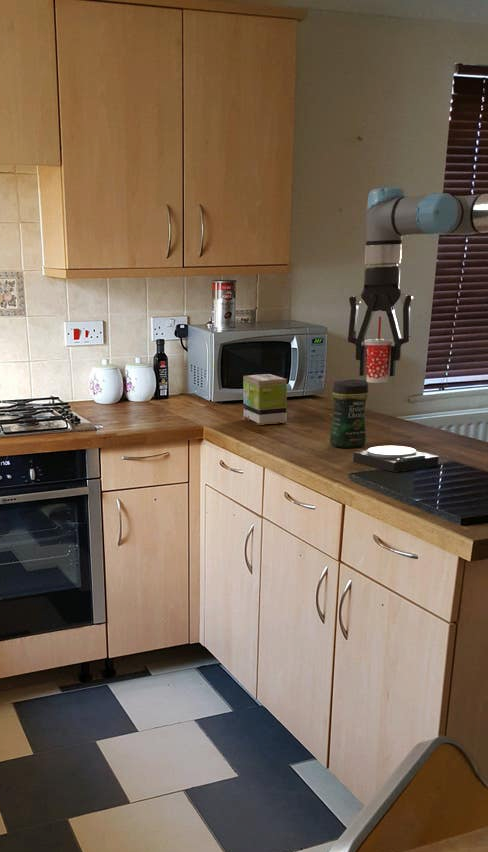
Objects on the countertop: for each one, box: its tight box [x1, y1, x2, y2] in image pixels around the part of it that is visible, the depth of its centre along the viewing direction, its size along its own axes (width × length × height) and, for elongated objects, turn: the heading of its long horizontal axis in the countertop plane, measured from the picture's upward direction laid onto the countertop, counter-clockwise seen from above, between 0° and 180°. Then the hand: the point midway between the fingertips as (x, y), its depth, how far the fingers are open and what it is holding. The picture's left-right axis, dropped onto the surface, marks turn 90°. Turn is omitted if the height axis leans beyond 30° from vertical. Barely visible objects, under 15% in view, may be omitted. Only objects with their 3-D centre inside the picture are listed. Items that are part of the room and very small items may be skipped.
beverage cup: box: [364, 316, 394, 384], centre depth 195 cm, size 6×6×14 cm
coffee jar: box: [329, 378, 369, 449], centre depth 244 cm, size 10×8×19 cm
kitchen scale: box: [352, 445, 440, 473], centre depth 223 cm, size 16×14×3 cm
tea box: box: [242, 373, 288, 423], centre depth 288 cm, size 15×10×15 cm
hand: (377, 375), depth 196 cm, fingers closed on beverage cup, 6 cm apart
